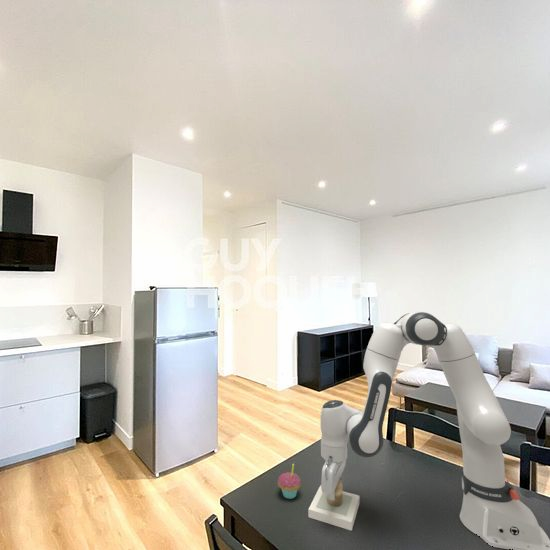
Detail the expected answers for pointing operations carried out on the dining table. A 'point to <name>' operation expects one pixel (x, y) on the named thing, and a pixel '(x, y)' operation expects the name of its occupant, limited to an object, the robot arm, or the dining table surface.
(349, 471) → the dining table surface
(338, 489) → the bread loaf
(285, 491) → the cupcake
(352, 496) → the base slab
